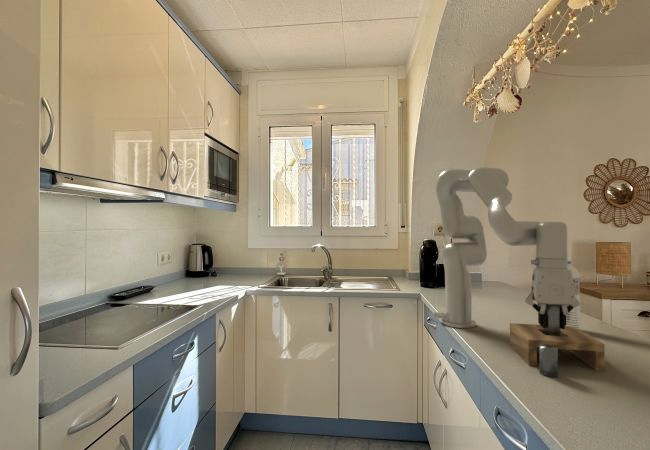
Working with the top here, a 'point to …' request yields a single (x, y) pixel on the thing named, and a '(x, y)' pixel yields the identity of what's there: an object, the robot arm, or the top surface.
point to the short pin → (548, 360)
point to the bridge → (556, 344)
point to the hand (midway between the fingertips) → (552, 326)
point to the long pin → (553, 321)
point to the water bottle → (574, 314)
